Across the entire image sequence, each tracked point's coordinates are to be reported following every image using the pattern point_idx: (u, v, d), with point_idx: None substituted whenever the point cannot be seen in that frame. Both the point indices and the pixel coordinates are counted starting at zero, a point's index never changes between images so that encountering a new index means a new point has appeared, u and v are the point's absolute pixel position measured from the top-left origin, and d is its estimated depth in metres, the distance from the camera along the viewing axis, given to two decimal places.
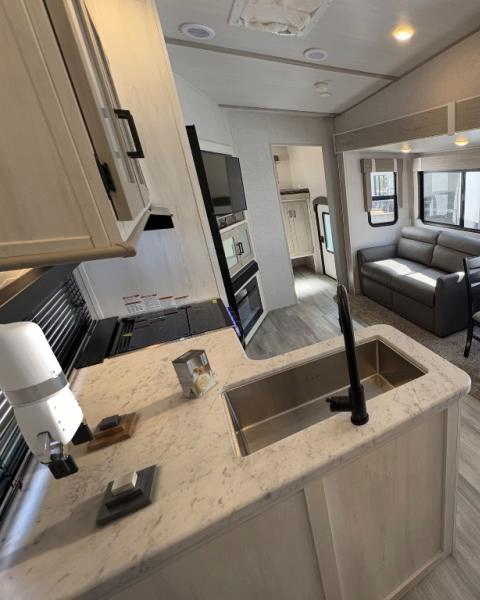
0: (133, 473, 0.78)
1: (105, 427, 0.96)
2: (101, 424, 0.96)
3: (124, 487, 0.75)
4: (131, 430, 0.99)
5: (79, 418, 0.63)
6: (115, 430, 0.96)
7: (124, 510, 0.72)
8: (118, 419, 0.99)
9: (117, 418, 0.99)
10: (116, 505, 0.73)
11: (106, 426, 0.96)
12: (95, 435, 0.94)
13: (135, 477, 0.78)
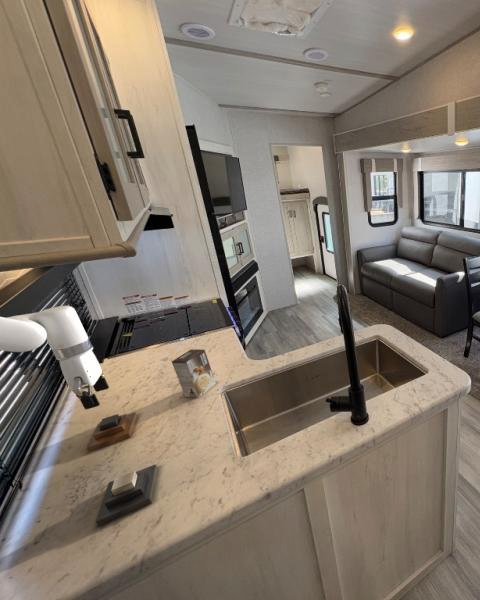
0: (133, 473, 0.78)
1: (105, 427, 0.96)
2: (101, 424, 0.96)
3: (124, 487, 0.75)
4: (131, 430, 0.99)
5: (99, 372, 0.93)
6: (115, 430, 0.96)
7: (124, 510, 0.72)
8: (118, 419, 0.99)
9: (117, 418, 0.99)
10: (116, 505, 0.73)
11: (106, 426, 0.96)
12: (95, 435, 0.94)
13: (135, 477, 0.78)
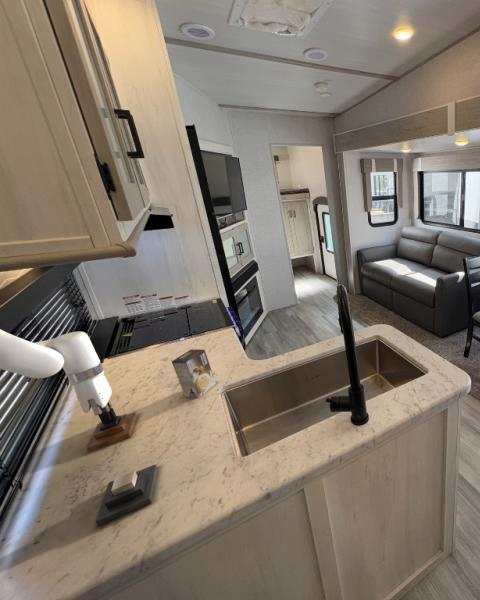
0: (133, 473, 0.78)
1: (106, 428, 0.96)
2: (102, 425, 0.96)
3: (124, 487, 0.75)
4: (131, 430, 0.99)
5: (110, 392, 0.98)
6: (115, 430, 0.96)
7: (124, 510, 0.72)
8: (119, 420, 0.99)
9: (117, 419, 0.99)
10: (116, 505, 0.73)
11: (107, 427, 0.96)
12: (95, 435, 0.94)
13: (135, 477, 0.78)
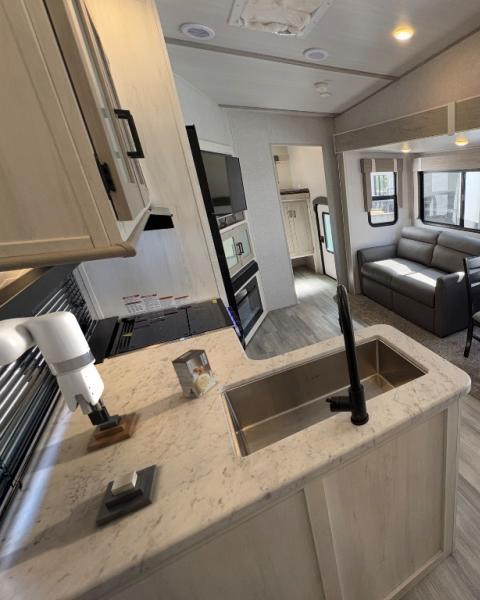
0: (133, 473, 0.78)
1: (105, 427, 0.96)
2: (101, 424, 0.96)
3: (124, 487, 0.75)
4: (131, 430, 0.99)
5: (101, 387, 0.81)
6: (115, 430, 0.96)
7: (124, 510, 0.72)
8: (118, 419, 0.99)
9: (117, 418, 0.99)
10: (116, 505, 0.73)
11: (106, 426, 0.96)
12: (95, 435, 0.94)
13: (135, 477, 0.78)
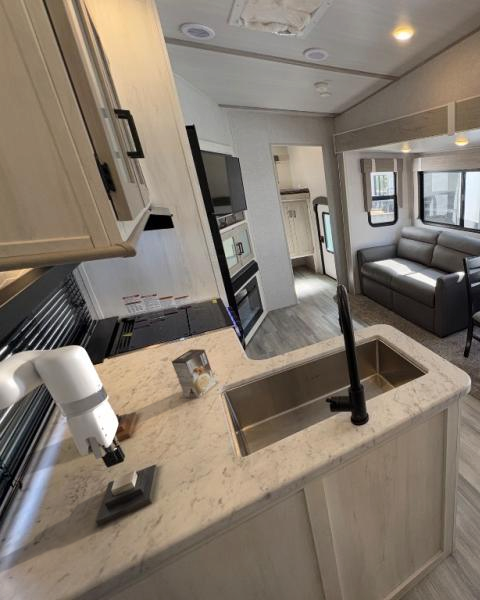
0: (133, 473, 0.78)
1: None
2: None
3: (124, 487, 0.75)
4: (131, 430, 0.99)
5: (116, 425, 0.74)
6: None
7: (124, 510, 0.72)
8: (118, 419, 0.99)
9: (117, 418, 0.99)
10: (116, 505, 0.73)
11: None
12: None
13: (135, 477, 0.78)
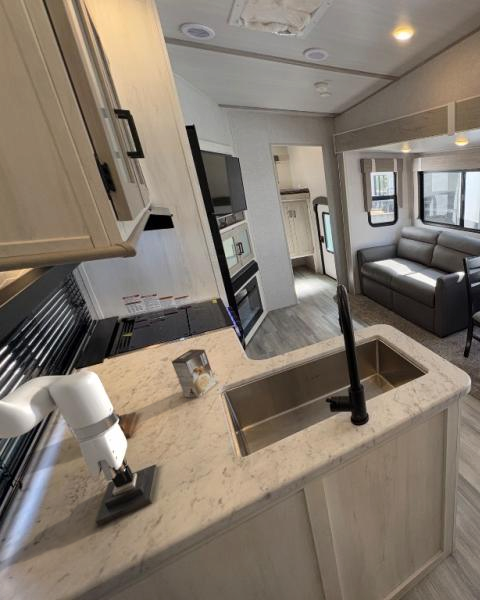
0: (134, 475, 0.78)
1: None
2: None
3: (125, 490, 0.75)
4: (131, 430, 0.99)
5: (125, 446, 0.76)
6: None
7: (124, 510, 0.72)
8: None
9: None
10: (116, 505, 0.73)
11: None
12: None
13: (136, 479, 0.78)
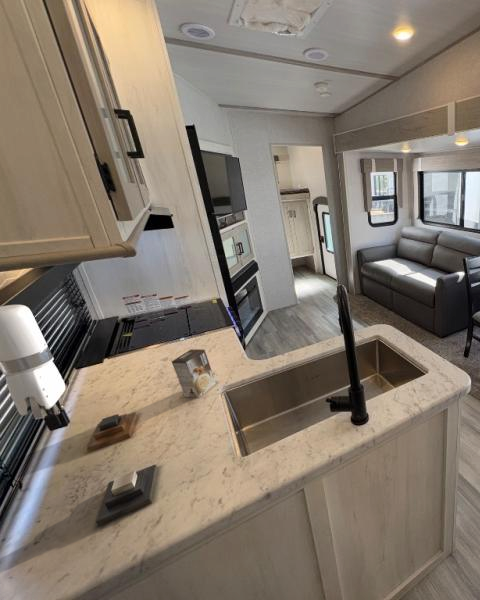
0: (133, 473, 0.78)
1: (105, 427, 0.96)
2: (101, 424, 0.96)
3: (124, 487, 0.75)
4: (131, 430, 0.99)
5: (61, 389, 0.74)
6: (115, 430, 0.96)
7: (124, 510, 0.72)
8: (118, 419, 0.99)
9: (117, 418, 0.99)
10: (116, 505, 0.73)
11: (106, 426, 0.96)
12: (95, 435, 0.94)
13: (135, 477, 0.78)
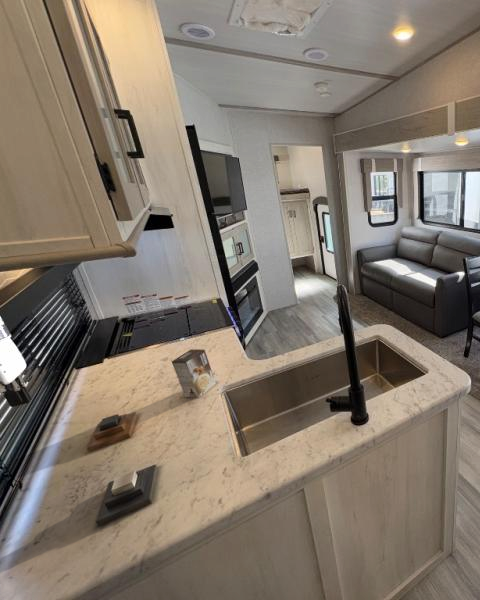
0: (133, 473, 0.78)
1: (105, 427, 0.96)
2: (101, 424, 0.96)
3: (124, 487, 0.75)
4: (131, 430, 0.99)
5: (22, 366, 0.76)
6: (115, 430, 0.96)
7: (124, 510, 0.72)
8: (118, 419, 0.99)
9: (117, 418, 0.99)
10: (116, 505, 0.73)
11: (106, 426, 0.96)
12: (95, 435, 0.94)
13: (135, 477, 0.78)
